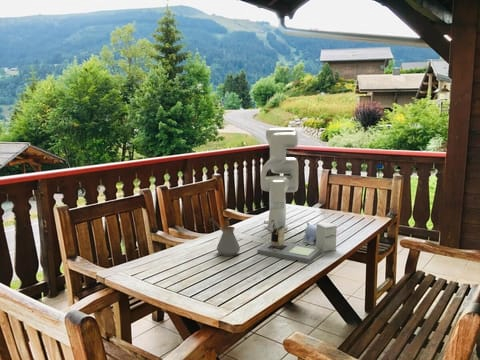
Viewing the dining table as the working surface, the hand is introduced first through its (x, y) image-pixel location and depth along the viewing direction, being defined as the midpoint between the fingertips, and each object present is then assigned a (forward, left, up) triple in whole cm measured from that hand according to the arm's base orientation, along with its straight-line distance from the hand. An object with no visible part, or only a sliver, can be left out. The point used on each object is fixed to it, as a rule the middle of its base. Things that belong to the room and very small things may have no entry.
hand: (277, 239), depth 206 cm
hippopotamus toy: (+12, +23, -6) cm, 26 cm away
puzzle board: (+7, 0, -6) cm, 9 cm away
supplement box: (+20, +15, -6) cm, 26 cm away
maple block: (0, 0, -2) cm, 2 cm away
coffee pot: (-24, -14, -6) cm, 28 cm away
